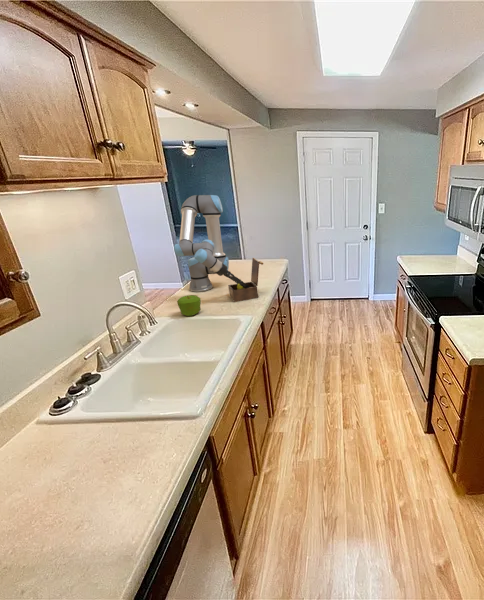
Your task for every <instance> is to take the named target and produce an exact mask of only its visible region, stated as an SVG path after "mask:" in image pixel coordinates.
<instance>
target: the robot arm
mask: <svg viewBox="0 0 484 600" xmlns="http://www.w3.org/2000/svg"><path fill="white" fill-rule="evenodd" d="M223 209H224V208H223V204H222V200H221V198H220V197H219V195H216V194H194V195H191V196H189V197H188V198H186V199H185V200H184V202H183V203H182V205H181V207H180V214H181V222H180V232H179V241H178V243H175V244H174V246H173V249H174V251H173V252H174V254H175V255H176V256H177V257H191V256H192V257H191V258H189V259H188V260H187V266H188V271H189V276H190V282H189V291H190V292H192V293H193V292H194V293H201V292H202V293H203V292H207V291H209V290H212V289H213V288H214V286H213V283H212V281H211V280H210V277H209V275H218V276H219V277H221V276H224V277H226V278H228V279H229V280H230V281H233V282H234V283H236V282H237V283H236V284H240V285H239V286H242V287H244V288H250V286H248V285H247V284H245V283H246V282H245V281H243V280H242V279H241V278H239V277H237V276H235V274H233V272H231V271H230V270H229V269H230V268H229V267H230V259H229V256H227V255H226V253H225V252H224V247H223V240H222V232H221V231H222V230H221V224H220V217H221V215H222V213H224V212H223V211H224V210H223ZM198 214H202V217H203V218H205V226H206V233H207V239H206V238H205V239H203V240H202V241H201V242H194V235H195V234H194V232H195V221H196V217H197V215H198ZM240 279H241V280H240Z"/></svg>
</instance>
